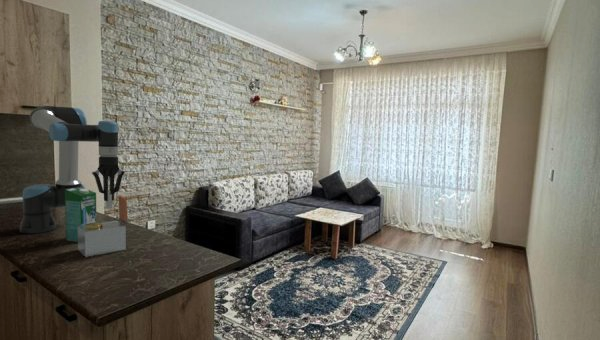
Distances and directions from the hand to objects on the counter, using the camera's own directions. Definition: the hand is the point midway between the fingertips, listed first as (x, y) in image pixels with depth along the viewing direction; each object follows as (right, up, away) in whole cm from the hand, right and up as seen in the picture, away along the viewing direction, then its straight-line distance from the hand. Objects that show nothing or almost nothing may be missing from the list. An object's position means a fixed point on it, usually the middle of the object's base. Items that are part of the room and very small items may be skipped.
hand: (109, 207), depth 151 cm
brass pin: (-5, -19, -2) cm, 20 cm away
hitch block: (-3, -19, 0) cm, 19 cm away
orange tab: (+4, -1, +5) cm, 7 cm away
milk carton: (-21, -17, +13) cm, 30 cm away
